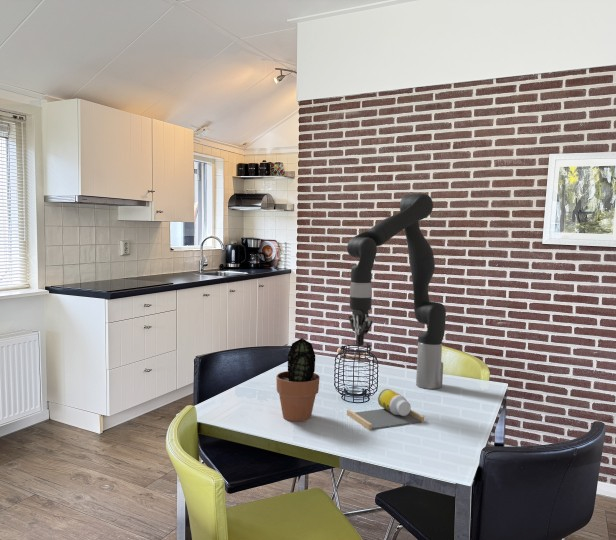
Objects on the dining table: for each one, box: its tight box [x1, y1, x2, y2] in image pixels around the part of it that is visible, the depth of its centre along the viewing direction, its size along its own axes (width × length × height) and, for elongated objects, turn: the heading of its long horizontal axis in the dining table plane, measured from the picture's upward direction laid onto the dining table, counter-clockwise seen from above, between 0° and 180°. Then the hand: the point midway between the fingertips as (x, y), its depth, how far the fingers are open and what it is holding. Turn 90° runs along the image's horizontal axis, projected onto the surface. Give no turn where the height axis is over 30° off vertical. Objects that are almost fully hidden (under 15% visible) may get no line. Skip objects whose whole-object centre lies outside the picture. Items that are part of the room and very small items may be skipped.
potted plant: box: [275, 337, 321, 423], centre depth 161 cm, size 14×14×25 cm
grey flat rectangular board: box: [346, 408, 425, 431], centre depth 163 cm, size 20×14×2 cm
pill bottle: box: [377, 388, 412, 416], centre depth 167 cm, size 6×6×12 cm
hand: (359, 344), depth 178 cm, fingers closed
